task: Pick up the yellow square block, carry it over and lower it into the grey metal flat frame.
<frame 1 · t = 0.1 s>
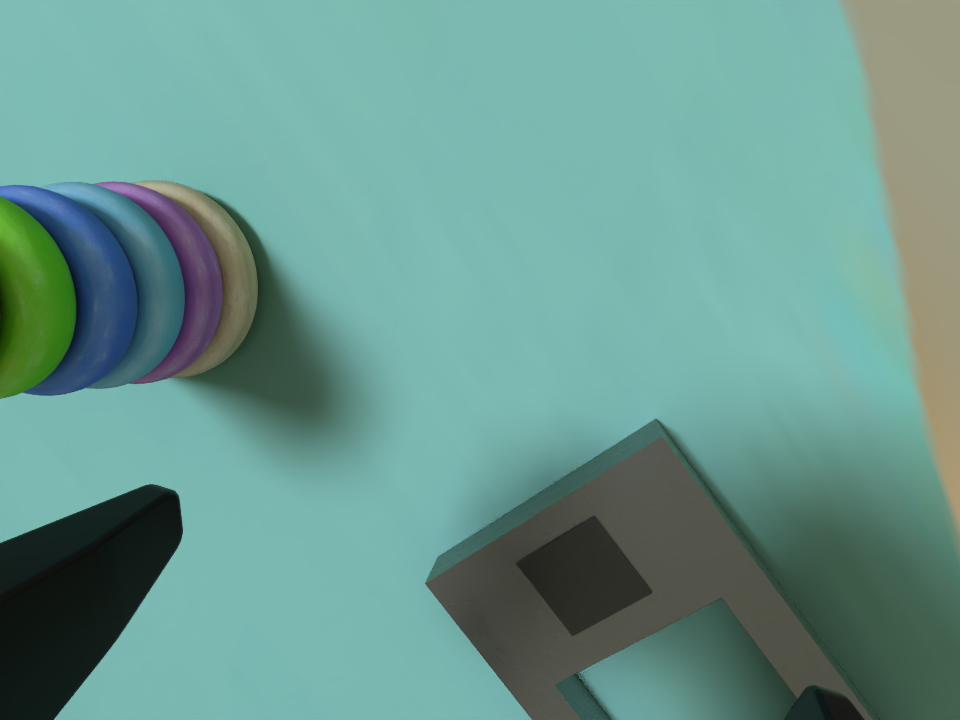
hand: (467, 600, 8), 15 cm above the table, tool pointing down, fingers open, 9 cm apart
grey metal flat frame: (655, 643, 25), on the table
stacking toy: (184, 279, 26), on the table
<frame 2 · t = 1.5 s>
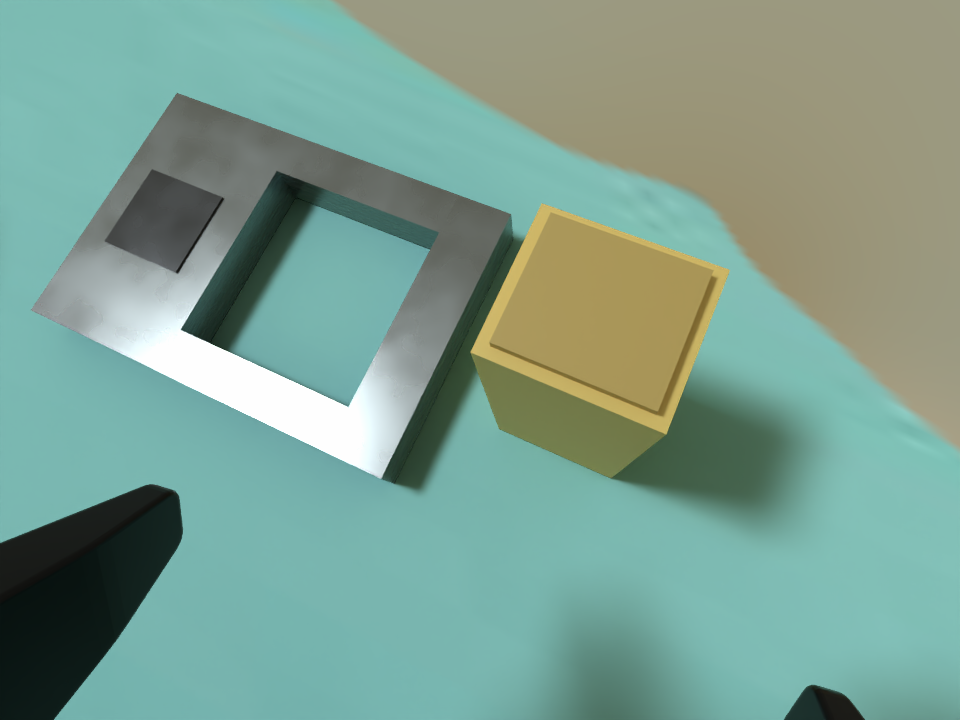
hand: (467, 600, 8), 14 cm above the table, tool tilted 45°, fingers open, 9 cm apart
grey metal flat frame: (287, 283, 25), on the table
yellow square block: (574, 405, 23), on the table
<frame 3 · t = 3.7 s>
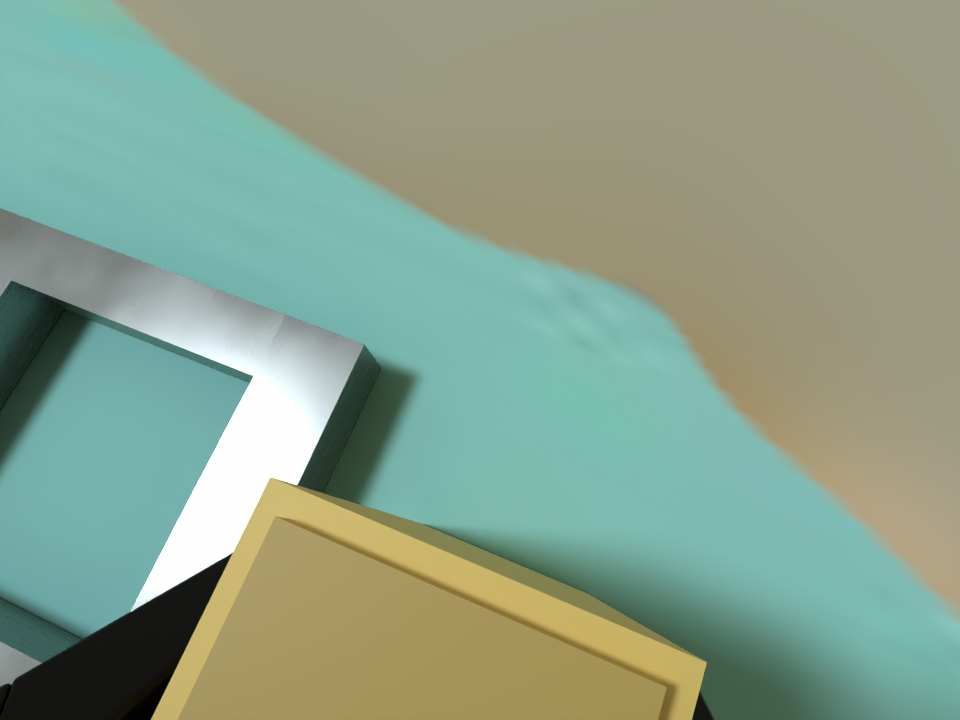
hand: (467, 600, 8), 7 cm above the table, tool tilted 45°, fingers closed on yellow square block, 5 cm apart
grey metal flat frame: (41, 446, 17), on the table
yellow square block: (472, 637, 15), on the table, touching gripper
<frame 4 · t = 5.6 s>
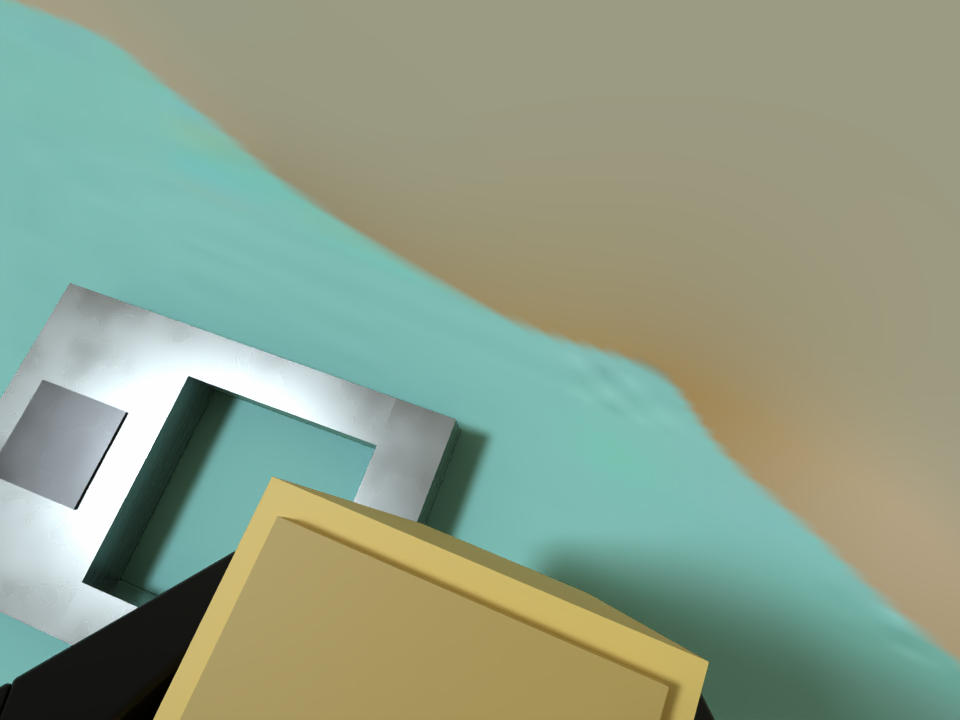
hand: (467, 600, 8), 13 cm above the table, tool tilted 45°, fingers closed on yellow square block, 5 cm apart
grey metal flat frame: (209, 496, 22), on the table
yellow square block: (473, 637, 15), point 6 cm above the table, touching gripper
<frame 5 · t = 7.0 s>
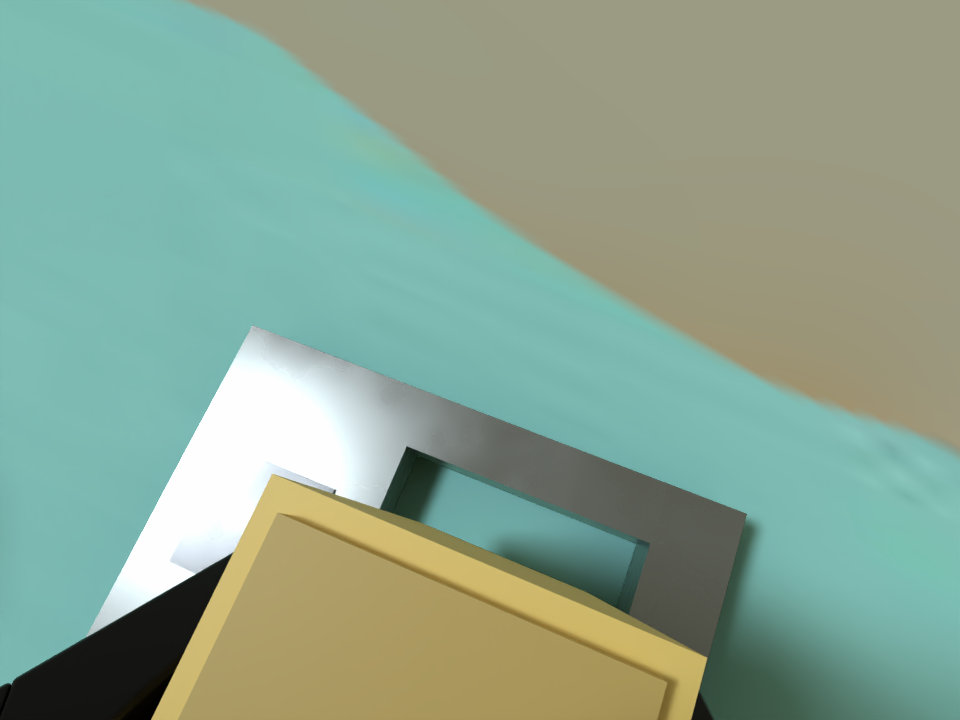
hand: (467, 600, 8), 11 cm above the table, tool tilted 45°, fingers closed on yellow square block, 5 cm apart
grey metal flat frame: (420, 589, 19), on the table
yellow square block: (472, 636, 15), point 4 cm above the table, touching gripper
when the fingers open (9 cm above the table, at t = 7.9 s): yellow square block drops 1 cm, resting in grey metal flat frame.
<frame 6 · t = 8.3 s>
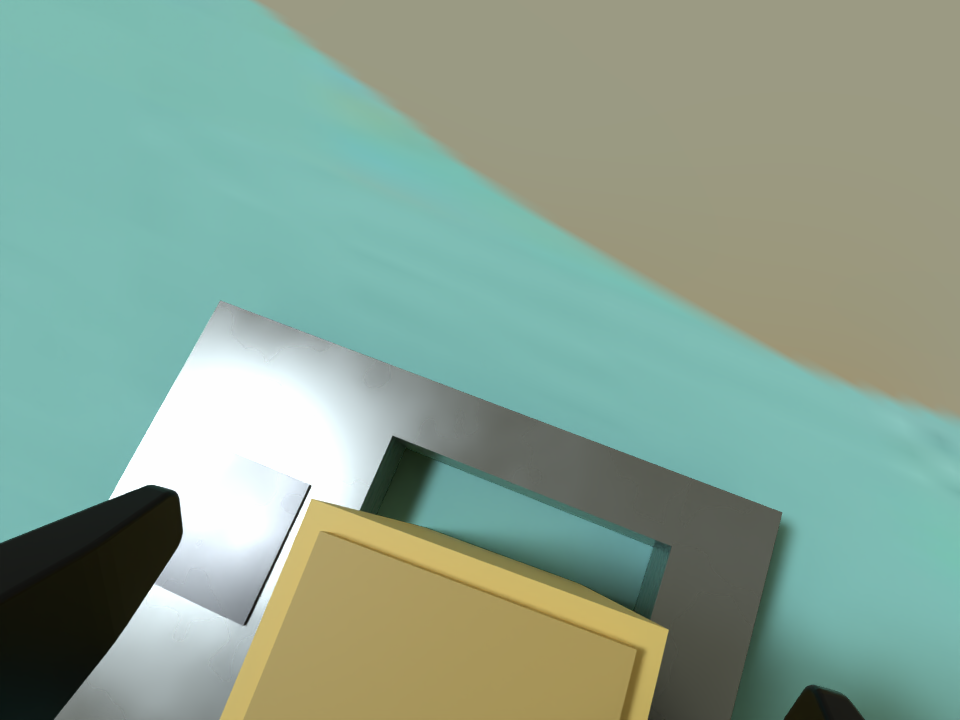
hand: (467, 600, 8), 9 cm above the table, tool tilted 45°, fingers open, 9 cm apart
grey metal flat frame: (408, 598, 16), on the table
yellow square block: (476, 628, 16), resting in grey metal flat frame
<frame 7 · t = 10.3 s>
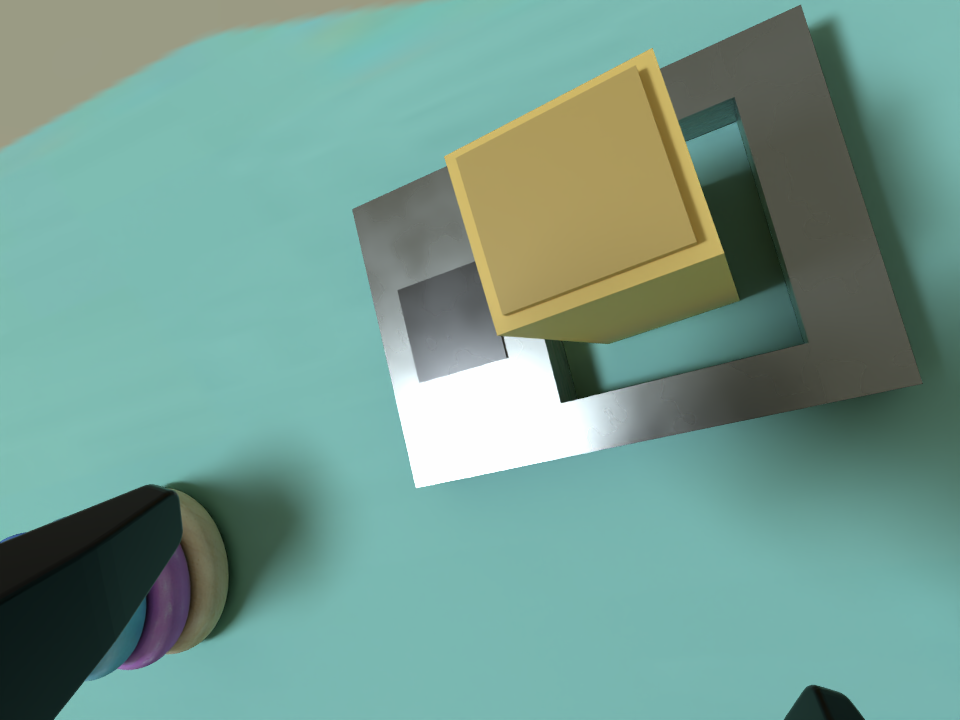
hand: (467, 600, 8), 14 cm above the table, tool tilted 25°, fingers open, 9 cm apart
grey metal flat frame: (596, 285, 21), on the table
yellow square block: (652, 268, 21), resting in grey metal flat frame
stacking toy: (184, 561, 31), on the table
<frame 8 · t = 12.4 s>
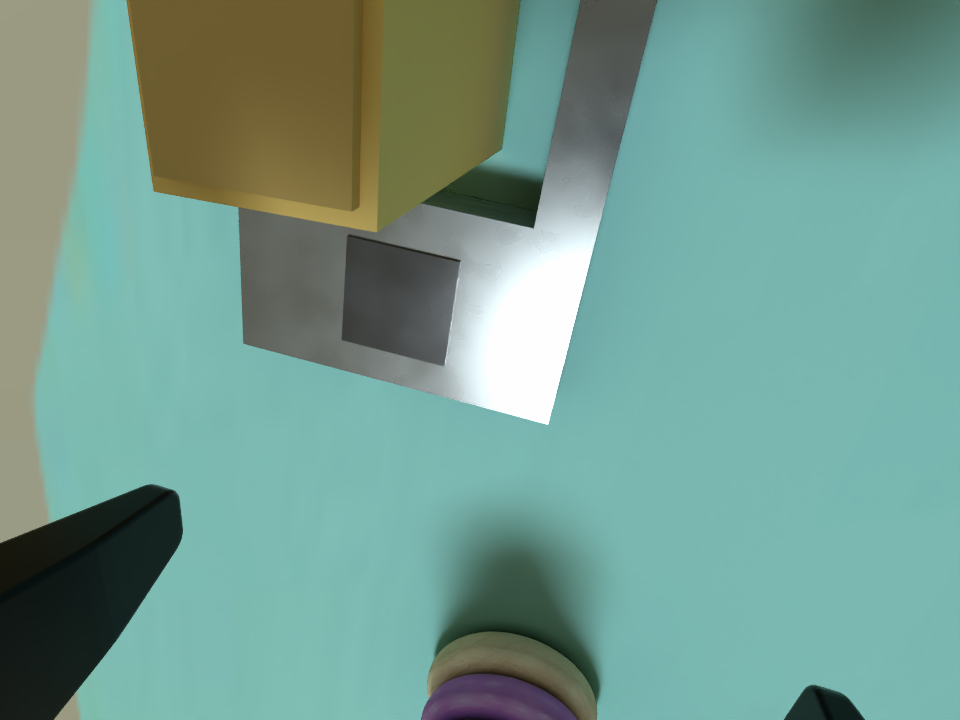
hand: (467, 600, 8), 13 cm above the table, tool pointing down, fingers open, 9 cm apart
grey metal flat frame: (436, 130, 18), on the table
yellow square block: (444, 58, 17), resting in grey metal flat frame
stacking toy: (514, 677, 29), on the table
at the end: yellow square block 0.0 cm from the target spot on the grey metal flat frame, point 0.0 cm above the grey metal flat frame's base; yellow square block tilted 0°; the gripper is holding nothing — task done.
